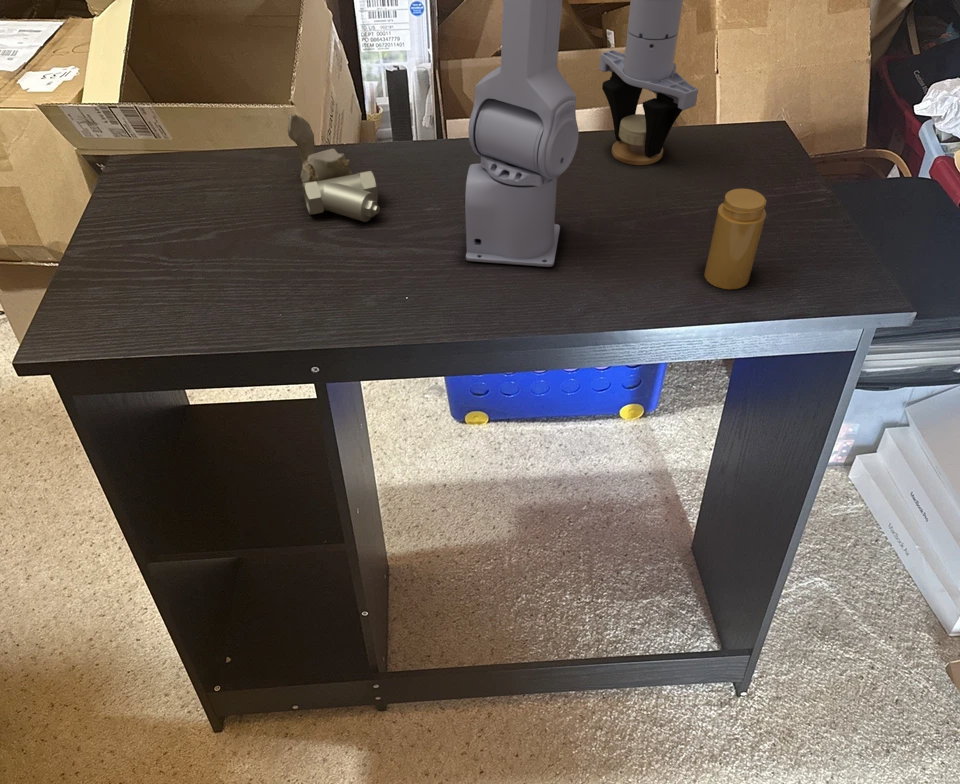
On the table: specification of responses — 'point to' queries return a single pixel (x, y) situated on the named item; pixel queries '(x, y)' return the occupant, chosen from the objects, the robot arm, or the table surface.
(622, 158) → the coaster
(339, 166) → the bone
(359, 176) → the pipe fitting
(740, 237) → the jar
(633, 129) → the jar lid
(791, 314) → the table surface
